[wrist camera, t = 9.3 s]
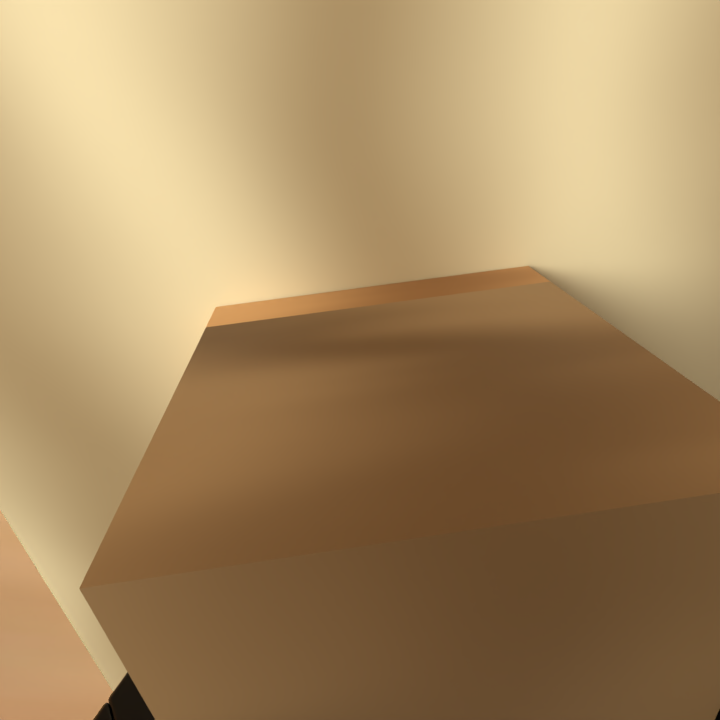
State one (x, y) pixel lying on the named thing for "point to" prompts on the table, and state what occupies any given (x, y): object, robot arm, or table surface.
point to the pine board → (320, 198)
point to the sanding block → (421, 516)
